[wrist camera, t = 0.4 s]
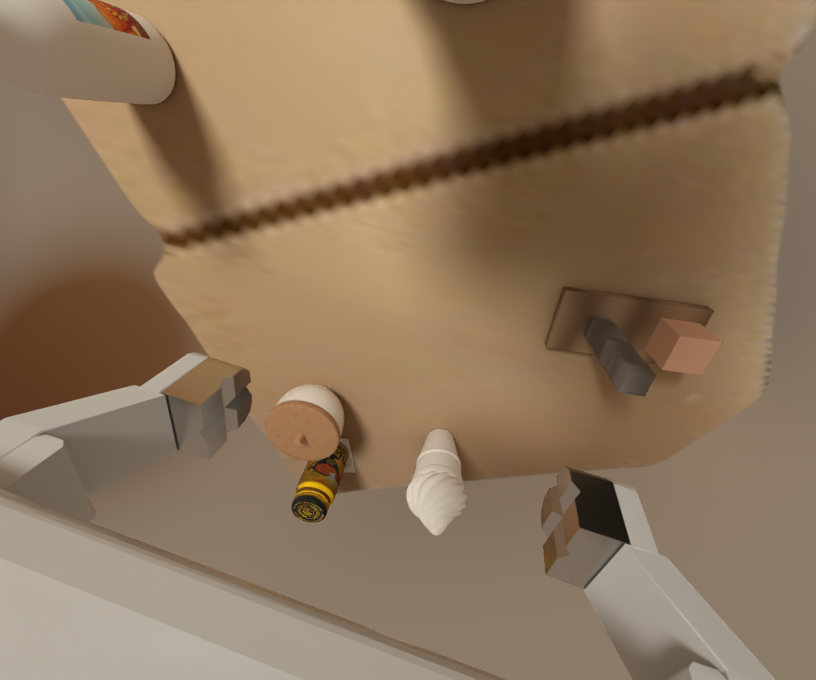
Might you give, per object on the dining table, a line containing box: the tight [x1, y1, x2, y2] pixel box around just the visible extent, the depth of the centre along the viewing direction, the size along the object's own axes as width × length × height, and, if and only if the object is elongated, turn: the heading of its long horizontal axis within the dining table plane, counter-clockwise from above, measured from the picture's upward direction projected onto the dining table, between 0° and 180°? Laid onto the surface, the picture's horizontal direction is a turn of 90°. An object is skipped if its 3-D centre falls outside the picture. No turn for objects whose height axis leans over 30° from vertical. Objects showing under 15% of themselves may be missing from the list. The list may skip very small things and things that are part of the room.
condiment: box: [292, 438, 356, 522], centre depth 60 cm, size 7×8×12 cm
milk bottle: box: [0, 0, 176, 104], centre depth 30 cm, size 8×8×20 cm
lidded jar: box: [265, 384, 344, 461], centre depth 55 cm, size 11×11×9 cm
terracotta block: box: [645, 318, 723, 376], centre depth 43 cm, size 4×4×4 cm
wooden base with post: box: [545, 287, 714, 396], centre depth 41 cm, size 17×8×13 cm, turn 84°
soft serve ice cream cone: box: [407, 429, 468, 535], centre depth 53 cm, size 8×8×16 cm
